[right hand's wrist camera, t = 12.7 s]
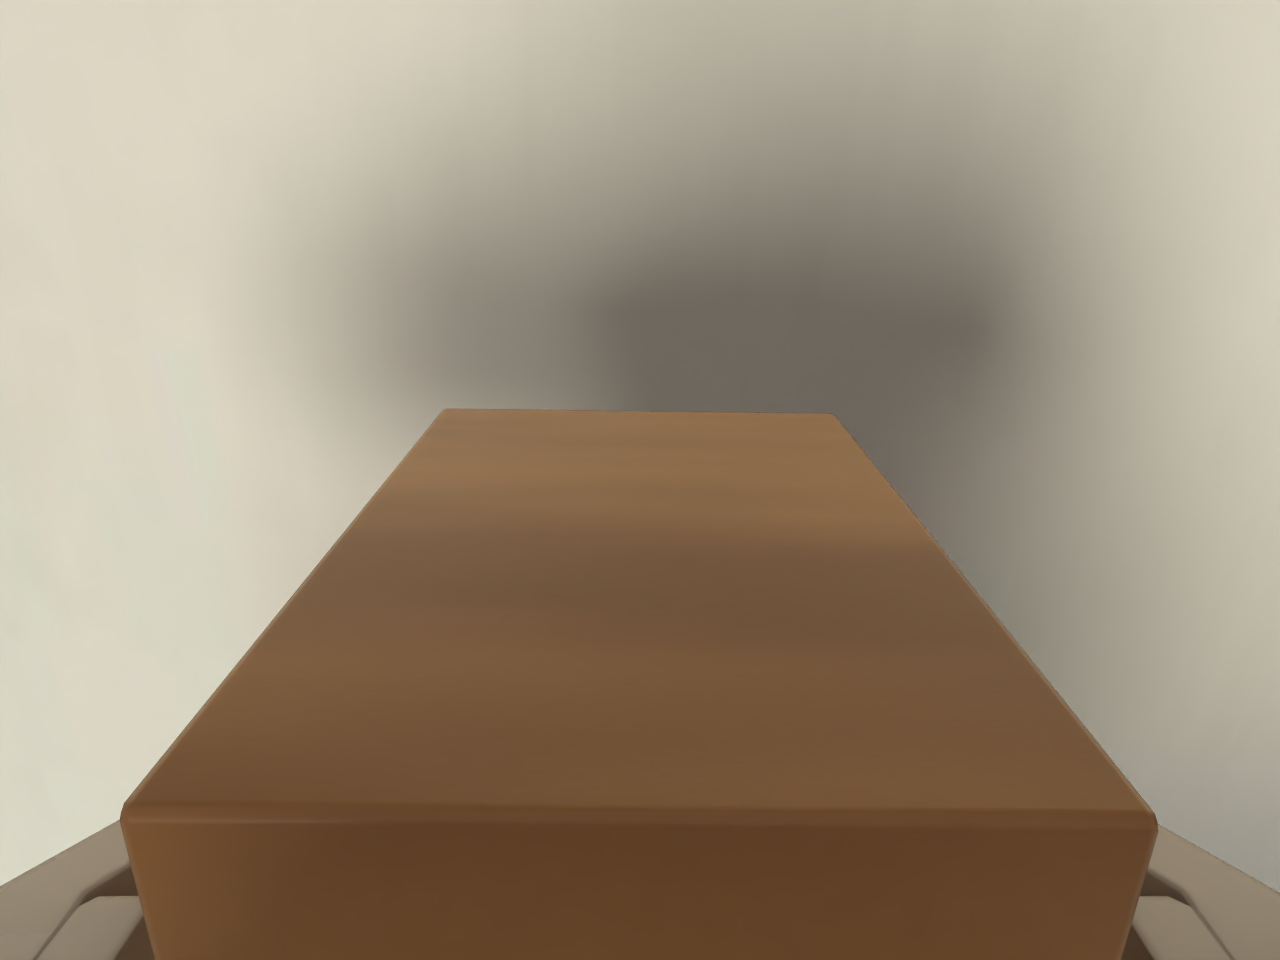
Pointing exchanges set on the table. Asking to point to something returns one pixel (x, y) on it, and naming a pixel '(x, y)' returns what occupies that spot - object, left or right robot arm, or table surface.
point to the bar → (636, 725)
